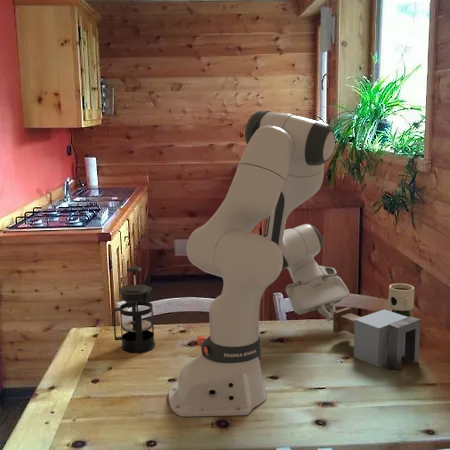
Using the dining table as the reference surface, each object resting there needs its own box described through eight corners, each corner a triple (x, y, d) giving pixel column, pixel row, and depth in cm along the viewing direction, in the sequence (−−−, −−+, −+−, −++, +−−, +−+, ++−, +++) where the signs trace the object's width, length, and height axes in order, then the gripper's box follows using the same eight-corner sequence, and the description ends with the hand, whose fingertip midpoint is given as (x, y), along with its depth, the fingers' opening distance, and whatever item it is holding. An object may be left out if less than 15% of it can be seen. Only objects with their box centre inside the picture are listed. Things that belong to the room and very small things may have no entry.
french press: (155, 338, 169) (151, 261, 164) (159, 351, 160) (155, 270, 155) (114, 343, 166) (109, 265, 162) (116, 356, 157) (111, 274, 153)
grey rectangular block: (353, 356, 153) (354, 319, 151) (383, 345, 160) (384, 309, 158) (377, 367, 147) (379, 328, 145) (407, 354, 154) (409, 317, 152)
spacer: (386, 367, 147) (388, 324, 144) (408, 357, 152) (410, 316, 150) (396, 371, 144) (398, 327, 142) (418, 361, 150) (420, 319, 147)
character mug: (382, 322, 177) (383, 281, 174) (405, 321, 177) (406, 281, 175) (394, 336, 166) (395, 293, 164) (418, 335, 167) (420, 292, 164)
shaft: (333, 332, 163) (333, 311, 161) (347, 327, 166) (348, 307, 165) (384, 352, 149) (385, 330, 147) (399, 346, 152) (400, 324, 151)
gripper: (288, 279, 164) (312, 322, 158) (338, 267, 175) (362, 306, 170) (277, 291, 168) (301, 333, 162) (327, 278, 180) (350, 316, 174)
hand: (333, 319), depth 166 cm, fingers closed
